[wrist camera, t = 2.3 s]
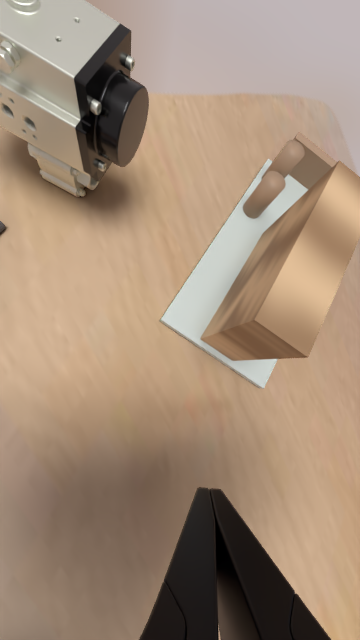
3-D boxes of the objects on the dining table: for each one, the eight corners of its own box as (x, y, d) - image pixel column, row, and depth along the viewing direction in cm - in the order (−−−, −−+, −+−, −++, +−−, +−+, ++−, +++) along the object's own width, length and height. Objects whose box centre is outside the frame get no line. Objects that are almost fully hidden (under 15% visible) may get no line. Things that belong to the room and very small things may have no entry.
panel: (258, 387, 22) (294, 393, 17) (159, 321, 21) (169, 308, 16) (341, 216, 28) (383, 187, 24) (268, 158, 27) (297, 117, 23)
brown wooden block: (232, 360, 21) (308, 357, 12) (199, 338, 21) (254, 319, 12) (289, 253, 25) (379, 192, 16) (262, 232, 24) (339, 160, 16)
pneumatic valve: (23, 123, 22) (-91, -153, 10) (141, 190, 23) (159, 16, 12) (-15, 167, 20) (-199, -98, 9) (113, 235, 22) (103, 87, 10)
